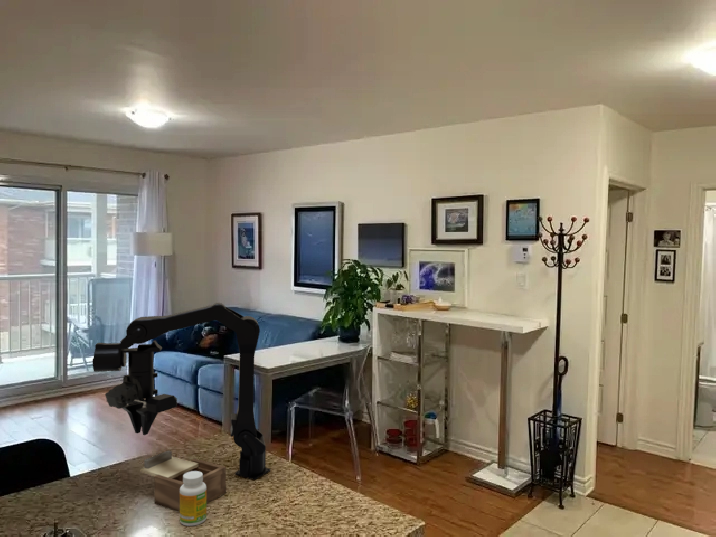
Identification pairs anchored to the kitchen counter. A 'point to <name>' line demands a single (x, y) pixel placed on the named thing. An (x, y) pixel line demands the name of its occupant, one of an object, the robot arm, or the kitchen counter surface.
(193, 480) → the supplement bottle
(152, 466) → the lid
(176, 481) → the box
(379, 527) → the kitchen counter surface
